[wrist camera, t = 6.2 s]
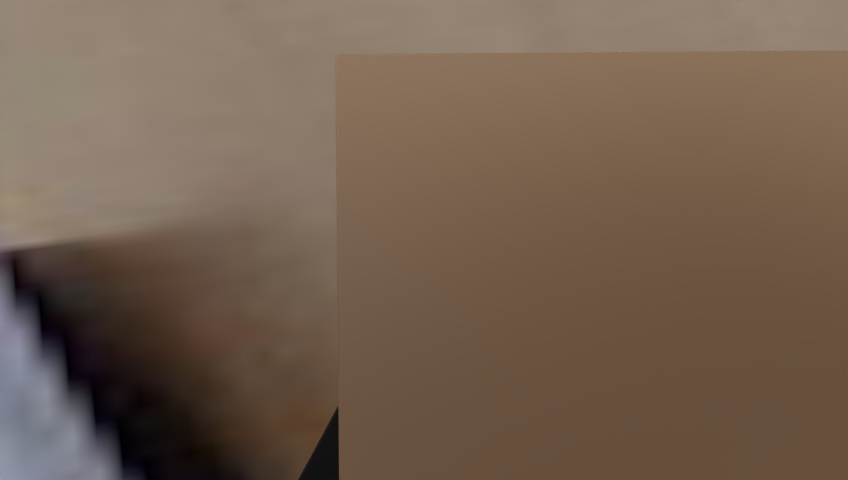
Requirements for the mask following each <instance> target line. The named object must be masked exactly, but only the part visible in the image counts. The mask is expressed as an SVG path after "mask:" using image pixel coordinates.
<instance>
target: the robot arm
mask: <svg viewBox="0 0 848 480" xmlns="http://www.w3.org/2000/svg"><path fill="white" fill-rule="evenodd" d="M298 480H339V408H338V407H337V409H336V411H335V413H334V414H333V416H332V418H331V420H330V422H329V424H328V426H327V427H326V429H325V431H324V433H323V435H322V437H321V439H320V440H319V442H318V444H317V446H316V448H315V450H314V452H313V453H312V455H311V457H310V459H309V461H308V463H307V465H306V466H305V468H304V470H303V472H302V474H301V476H300V478H299V479H298Z"/></svg>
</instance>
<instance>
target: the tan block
mask: <svg viewBox="0 0 848 480" xmlns="http://www.w3.org/2000/svg"><path fill="white" fill-rule="evenodd" d="M335 65H336V179H337V293H338V408H339V480H848V51H735V52H603V53H470V54H338V55H335Z"/></svg>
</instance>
